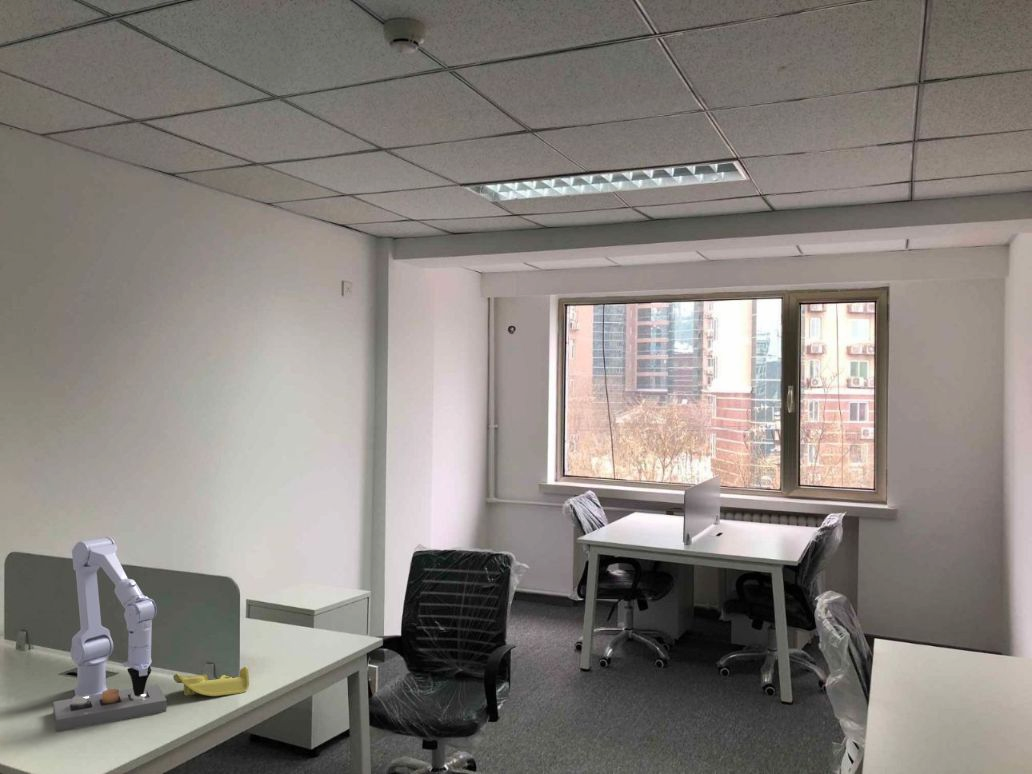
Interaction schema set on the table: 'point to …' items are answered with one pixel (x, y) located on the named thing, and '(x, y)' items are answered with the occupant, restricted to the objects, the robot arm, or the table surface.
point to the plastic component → (214, 684)
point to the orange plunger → (110, 696)
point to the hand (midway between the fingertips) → (138, 694)
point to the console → (108, 709)
